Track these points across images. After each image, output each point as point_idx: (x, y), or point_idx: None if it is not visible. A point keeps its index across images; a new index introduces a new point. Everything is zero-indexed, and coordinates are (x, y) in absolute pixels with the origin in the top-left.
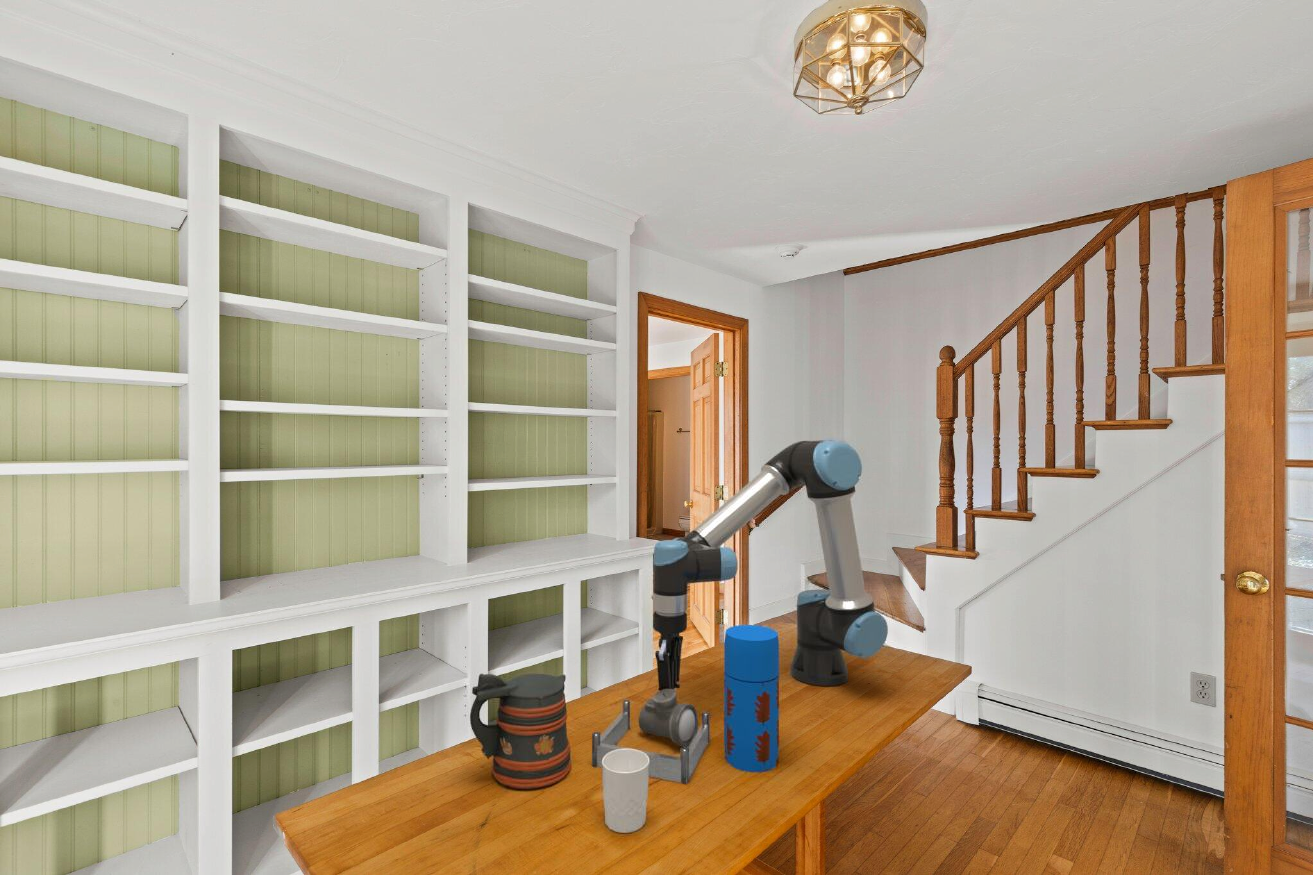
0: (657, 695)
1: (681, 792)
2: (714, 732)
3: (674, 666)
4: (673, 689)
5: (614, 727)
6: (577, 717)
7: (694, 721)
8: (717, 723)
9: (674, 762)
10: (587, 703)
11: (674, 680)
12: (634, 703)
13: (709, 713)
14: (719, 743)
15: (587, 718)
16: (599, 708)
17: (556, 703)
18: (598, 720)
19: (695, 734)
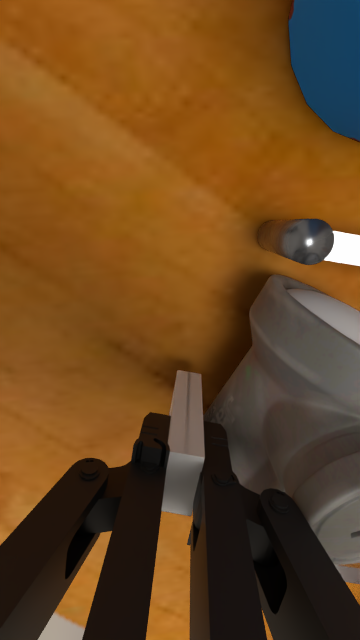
0: (351, 552)
1: None
2: (186, 205)
3: (144, 630)
4: (222, 473)
5: (349, 564)
6: (161, 609)
7: (314, 296)
8: (104, 198)
9: None
10: (69, 602)
11: (161, 504)
12: (27, 495)
13: (311, 220)
14: (279, 177)
15: (161, 588)
16: (91, 573)
17: None
18: (168, 564)
19: (291, 280)
